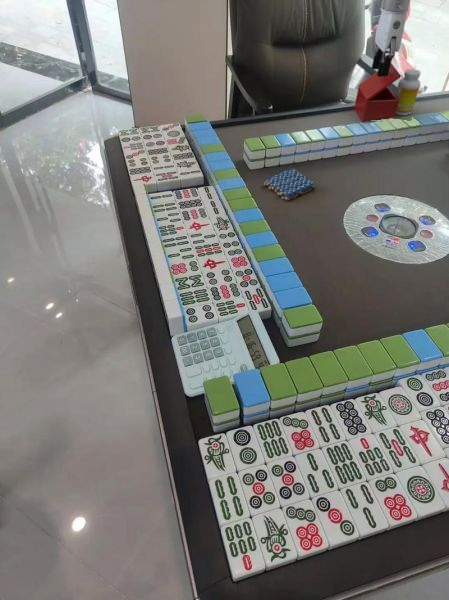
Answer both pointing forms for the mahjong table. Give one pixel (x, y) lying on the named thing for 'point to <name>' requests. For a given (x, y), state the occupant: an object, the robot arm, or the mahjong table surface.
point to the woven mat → (289, 184)
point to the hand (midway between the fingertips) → (379, 71)
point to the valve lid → (378, 82)
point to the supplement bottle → (407, 91)
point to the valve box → (376, 105)
